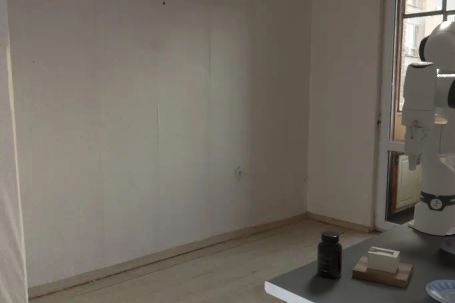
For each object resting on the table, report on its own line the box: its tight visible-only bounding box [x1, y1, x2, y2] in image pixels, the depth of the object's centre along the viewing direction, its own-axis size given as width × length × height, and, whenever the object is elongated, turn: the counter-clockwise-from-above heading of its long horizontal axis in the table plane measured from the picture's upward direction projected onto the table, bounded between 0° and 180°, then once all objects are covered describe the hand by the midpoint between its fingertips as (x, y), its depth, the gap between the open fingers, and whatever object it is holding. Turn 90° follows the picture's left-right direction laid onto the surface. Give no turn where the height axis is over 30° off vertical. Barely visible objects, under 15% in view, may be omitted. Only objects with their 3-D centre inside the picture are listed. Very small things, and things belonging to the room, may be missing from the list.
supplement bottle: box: [316, 230, 343, 280], centre depth 127 cm, size 7×7×12 cm
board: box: [352, 255, 414, 289], centre depth 128 cm, size 12×14×2 cm
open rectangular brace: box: [367, 246, 401, 273], centre depth 127 cm, size 8×5×5 cm
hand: (414, 167), depth 131 cm, fingers open, 8 cm apart
